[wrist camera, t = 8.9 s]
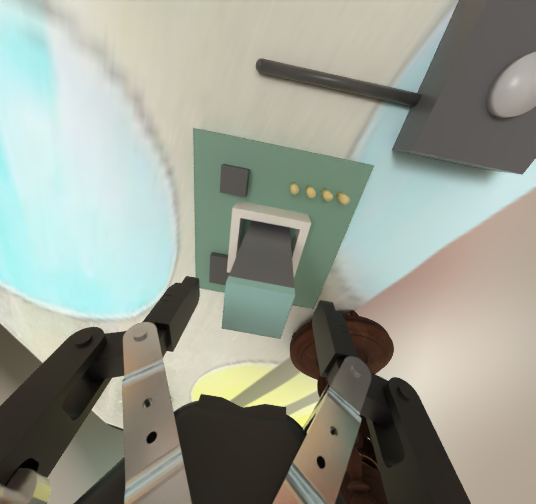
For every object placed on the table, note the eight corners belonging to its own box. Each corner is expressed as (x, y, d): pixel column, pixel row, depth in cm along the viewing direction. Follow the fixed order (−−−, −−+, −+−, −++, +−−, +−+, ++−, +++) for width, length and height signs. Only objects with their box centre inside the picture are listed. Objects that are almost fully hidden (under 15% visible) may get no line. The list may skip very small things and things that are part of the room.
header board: (198, 129, 17) (179, 125, 14) (368, 164, 18) (387, 168, 15) (199, 281, 26) (187, 301, 23) (312, 302, 27) (316, 323, 24)
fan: (269, -48, 12) (265, -114, 9) (586, 28, 13) (682, -8, 10) (250, 119, 17) (243, 114, 14) (486, 169, 17) (531, 175, 14)
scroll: (398, 350, 31) (548, 617, 13) (316, 374, 36) (349, 592, 18) (362, 291, 25) (538, 613, 8) (271, 329, 30) (258, 579, 13)
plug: (251, 218, 20) (225, 282, 11) (289, 225, 20) (295, 295, 11) (245, 258, 22) (220, 337, 13) (279, 264, 23) (277, 347, 13)
